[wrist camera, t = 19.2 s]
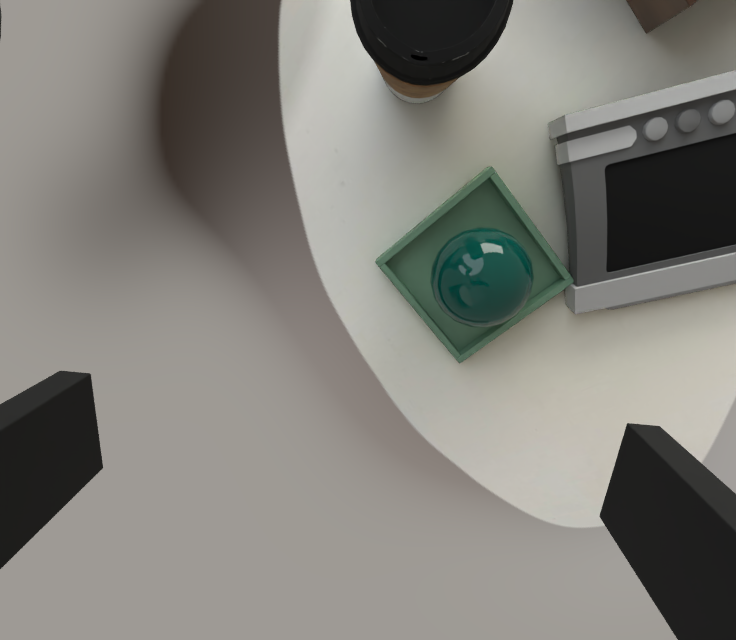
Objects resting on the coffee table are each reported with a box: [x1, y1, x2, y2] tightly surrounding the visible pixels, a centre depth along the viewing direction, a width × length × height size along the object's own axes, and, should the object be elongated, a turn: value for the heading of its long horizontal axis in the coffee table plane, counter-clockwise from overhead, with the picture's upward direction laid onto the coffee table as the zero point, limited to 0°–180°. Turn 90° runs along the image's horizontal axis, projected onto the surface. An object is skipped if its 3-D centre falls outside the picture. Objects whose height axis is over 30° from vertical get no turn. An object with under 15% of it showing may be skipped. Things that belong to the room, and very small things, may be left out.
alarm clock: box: [548, 70, 736, 314], centre depth 34 cm, size 17×5×16 cm
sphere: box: [430, 227, 534, 328], centre depth 34 cm, size 8×8×8 cm
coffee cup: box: [350, 0, 513, 103], centre depth 27 cm, size 8×8×15 cm
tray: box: [376, 167, 574, 363], centre depth 37 cm, size 12×12×2 cm
